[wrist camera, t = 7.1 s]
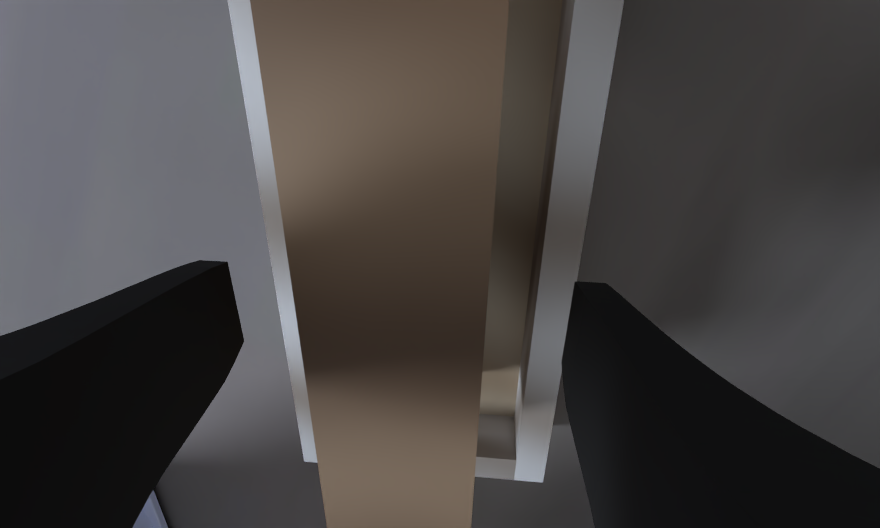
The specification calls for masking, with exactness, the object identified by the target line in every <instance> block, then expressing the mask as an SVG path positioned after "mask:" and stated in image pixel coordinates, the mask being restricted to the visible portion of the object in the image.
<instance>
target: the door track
mask: <svg viewBox="0 0 880 528" xmlns="http://www.w3.org/2000/svg"><path fill="white" fill-rule="evenodd" d="M623 5H624V0H509V12H508V25H507V39H506V53H505V67H504V81H503V94H502V108H501V122H500V136H499V149H498V163H497V177H496V191H495V204H494V218H493V232H492V246H491V260H490V273H489V287H488V301H487V315H486V328H485V342H484V356H483V370H482V383H481V397H480V411H479V425H478V439H477V452H476V466H475V477H485V478H496V479H507V480H519V481H530V482H541V483H543V479H544V473H545V467H546V461H547V455H548V450H549V444H550V438H551V432H552V426H553V420H554V414H555V408H556V402H557V396H558V390H559V384H560V378H561V372H562V364H561V362H562V355H563V349H564V343H565V337H566V331H567V325H568V319H569V313H570V307H571V301H572V295H573V289H574V283H575V282H577V278H578V272H579V266H580V260H581V254H582V248H583V242H584V236H585V230H586V224H587V218H588V212H589V206H590V200H591V194H592V189H593V183H594V177H595V171H596V165H597V159H598V153H599V147H600V141H601V135H602V129H603V123H604V117H605V111H606V106H607V100H608V94H609V88H610V82H611V76H612V70H613V64H614V58H615V52H616V46H617V40H618V34H619V28H620V22H621V17H622V11H623ZM228 6H229V12H230V18H231V24H232V30H233V36H234V42H235V48H236V54H237V60H238V66H239V72H240V78H241V84H242V90H243V96H244V102H245V108H246V114H247V120H248V126H249V132H250V138H251V144H252V150H253V156H254V162H255V168H256V174H257V180H258V186H259V192H260V198H261V204H262V210H263V216H264V222H265V228H266V234H267V241H268V247H269V253H270V259H271V265H272V271H273V277H274V283H275V289H276V295H277V301H278V307H279V313H280V319H281V325H282V331H283V337H284V343H285V349H286V355H287V361H288V367H289V373H290V379H291V385H292V391H293V397H294V403H295V409H296V415H297V421H298V427H299V433H300V439H301V445H302V451H303V457H304V462H314V463H318V462H317V456H316V449H315V442H314V435H313V428H312V421H311V414H310V408H309V401H308V394H307V387H306V380H305V373H304V367H303V360H302V353H301V346H300V339H299V332H298V326H297V319H296V312H295V305H294V298H293V291H292V285H291V278H290V271H289V264H288V257H287V250H286V244H285V237H284V230H283V223H282V216H281V209H280V203H279V196H278V189H277V182H276V175H275V168H274V161H273V155H272V148H271V141H270V134H269V127H268V120H267V114H266V107H265V100H264V93H263V86H262V79H261V73H260V66H259V59H258V52H257V45H256V38H255V32H254V25H253V18H252V11H251V4H250V0H228Z"/></svg>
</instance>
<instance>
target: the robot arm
mask: <svg viewBox="0 0 880 528" xmlns="http://www.w3.org/2000/svg"><path fill="white" fill-rule="evenodd" d="M243 342H244V338H243V333H242V329H241V324H240V319H239V314H238V310H237V305H236V300H235V295H234V291H233V286H232V281H231V277H230V272H229V267H228V262H220V261H202V260H199V261H196V262H192V263H189V264H185V265H183V266H180V267H177V268H174V269H172V270H169V271H166V272H164V273H161V274H159V275H156V276H154V277H151V278H149V279H147V280H144V281H142V282H139V283H137V284H135V285H132V286H130V287H127V288H125V289H123V290H120V291H118V292H115V293H113V294H111V295H108V296H106V297H103V298H101V299H99V300H96V301H94V302H91V303H88V304H86V305H83V306H81V307H78V308H76V309H73V310H70V311H68V312H65V313H63V314H60V315H57V316H55V317H52V318H50V319H47V320H45V321H42V322H39V323H37V324H34V325H31V326H28V327H26V328H23V329H20V330H17V331H14V332H11V333H8V334H5V335H2V336H0V528H168V526H167V523H166V521H165V518H164V516H163V513H162V511H161V508H160V505H159V503H158V500H157V498H156V495H155V493H154V490H153V489H154V488H155V486H156V484H157V483H158V481H159V480H160V478H161V476H162V475H163V473H164V472H165V470H166V469H167V467H168V466H169V464H170V463H171V461H172V460H173V458H174V457H175V455H176V454H177V452H178V451H179V449H180V448H181V446H182V445H183V443H184V442H185V441H186V439H187V438H188V436H189V435H190V433H191V432H192V430H193V429H194V427H195V426H196V424H197V423H198V421H199V420H200V418H201V417H202V415H203V414H204V413H205V411H206V409H207V408H208V406H209V405H210V403H211V402H212V400H213V399H214V397H215V396H216V394H217V393H218V391H219V390H220V388H221V387H222V385H223V384H224V382H225V380H226V378H227V376H228V374H229V372H230V370H231V368H232V366H233V364H234V362H235V360H236V358H237V356H238V354H239V351H240V349H241V347H242V345H243ZM561 364H562V375H563V385H564V393H565V402H566V408H567V412H568V417H569V421H570V425H571V429H572V433H573V438H574V442H575V446H576V450H577V454H578V458H579V462H580V466H581V470H582V474H583V478H584V482H585V486H586V490H587V494H588V498H589V502H590V506H591V511H592V516H593V520H594V525H595V528H880V469H879V468H877V467H875V466H873V465H871V464H869V463H867V462H865V461H863V460H861V459H859V458H857V457H855V456H853V455H851V454H850V453H848V452H846V451H844V450H842V449H840V448H838V447H837V446H835V445H833V444H831V443H829V442H827V441H826V440H824V439H822V438H820V437H818V436H816V435H815V434H813V433H811V432H809V431H807V430H806V429H804V428H802V427H800V426H798V425H797V424H795V423H793V422H791V421H790V420H788V419H786V418H785V417H783V416H781V415H780V414H778V413H776V412H775V411H773V410H771V409H770V408H768V407H767V406H765V405H763V404H762V403H760V402H759V401H757V400H756V399H754V398H753V397H751V396H749V395H748V394H746V393H745V392H743V391H742V390H740V389H738V388H737V387H735V386H734V385H732V384H731V383H730V382H728V381H727V380H725V379H724V378H722V377H721V376H719V375H718V374H717V373H715V372H714V371H713V370H711V369H710V368H709V367H707V366H706V365H704V364H703V363H702V362H700V361H699V360H698V359H696V358H695V357H694V356H692V355H691V354H690V353H688V352H687V351H686V350H685V349H683V348H682V347H681V346H680V345H678V344H677V343H676V342H675V341H673V340H672V339H671V338H670V337H668V336H667V335H666V334H665V333H664V332H662V331H661V330H660V329H659V328H658V327H656V326H655V325H654V324H653V323H652V322H651V321H649V320H648V319H647V318H646V317H645V316H644V315H643V314H641V313H640V312H639V311H638V310H637V309H636V308H635V307H633V306H632V305H631V304H630V303H629V302H628V301H627V300H626V299H624V298H623V297H622V296H621V295H620V294H619V293H617V292H616V291H615V290H614V289H613V288H611V287H610V286H609V285H608V284H606V283H592V282H575V283H574V289H573V295H572V301H571V307H570V313H569V319H568V325H567V331H566V337H565V343H564V349H563V355H562V362H561Z"/></svg>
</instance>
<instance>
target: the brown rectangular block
mask: <svg viewBox="0 0 880 528" xmlns="http://www.w3.org/2000/svg"><path fill="white" fill-rule="evenodd" d="M250 4H251V11H252V18H253V25H254V32H255V38H256V45H257V52H258V59H259V66H260V73H261V79H262V86H263V93H264V100H265V107H266V114H267V120H268V127H269V134H270V141H271V148H272V155H273V161H274V168H275V175H276V182H277V189H278V196H279V203H280V209H281V216H282V223H283V230H284V237H285V244H286V250H287V257H288V264H289V271H290V278H291V285H292V291H293V298H294V305H295V312H296V319H297V326H298V332H299V339H300V346H301V353H302V360H303V367H304V373H305V380H306V387H307V394H308V401H309V408H310V414H311V421H312V428H313V435H314V442H315V449H316V456H317V462H318V469H319V476H320V483H321V490H322V497H323V503H324V510H325V517H326V524H327V528H471V521H472V507H473V494H474V480H475V466H476V452H477V439H478V425H479V411H480V397H481V383H482V370H483V356H484V342H485V328H486V315H487V301H488V287H489V273H490V260H491V246H492V232H493V218H494V204H495V191H496V177H497V163H498V149H499V136H500V122H501V108H502V94H503V81H504V67H505V53H506V39H507V25H508V12H509V0H250Z"/></svg>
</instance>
